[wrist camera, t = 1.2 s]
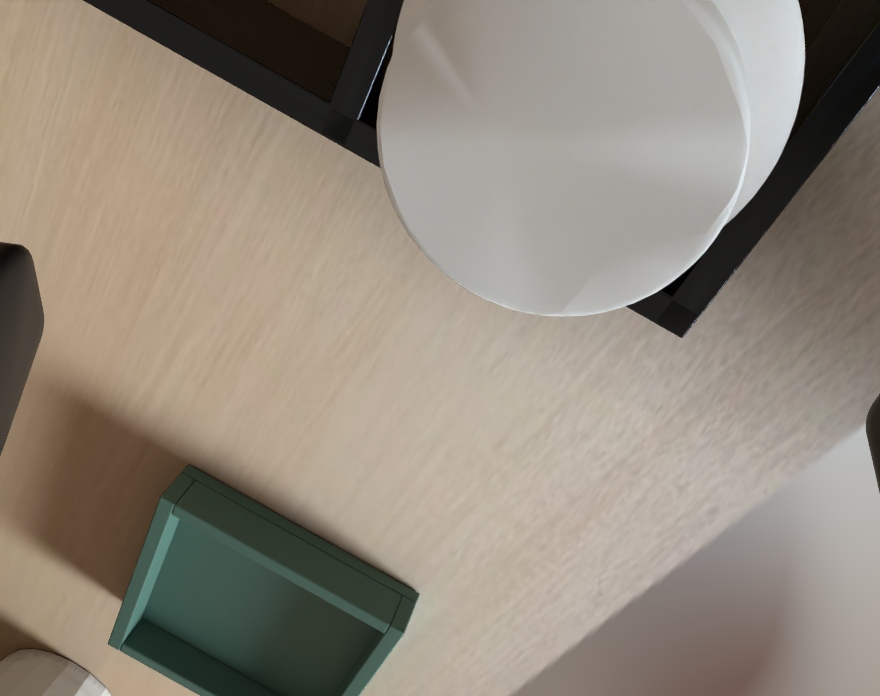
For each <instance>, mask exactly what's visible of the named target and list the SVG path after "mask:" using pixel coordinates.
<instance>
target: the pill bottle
mask: <svg viewBox="0 0 880 696" xmlns="http://www.w3.org/2000/svg"><path fill="white" fill-rule="evenodd" d="M804 65H805V39H804V30H803V21H802V16H801V11H800V6H799V1H798V0H404V2H403V5H402V9H401V12H400V16H399V19H398V24H397V28H396V33H395V39H394V45H393V55H392V58H391V60H390V63H389V65H388V68H387V70H386V74H385V78H384V81H383V85H382V89H381V92H380V96H379V105H378V114H377V144H378V154H379V161H380V167H381V171H382V174H383V178H384V183H385V187H386V189H387V192H388V195H389V197H390V200H391V203H392V205H393V207H394V209H395V211H396V213H397V215H398V217H399V219H400V220H401V222H402V224H403V226H404V227H405V229H406V231H407V232H408V234H409V235H410V237H411V238H412V239H413V241H414V242H415V244H416V245H417V246H418V247H419V248H420V250H421V251H422V252H423V253H424V254H425V255H426V256H427V258H428V259H429V260H430V261H431V262H433V263H434V264H435V265H436V266H437V267H438V268H439V269H440V270H441V271H442V272H443V273H445V274H446V275H447V276H448V277H450V278H451V279H452V280H453V281H455V282H456V283H458V284H459V285H461V286H462V287H464V288H465V289H467V290H469V291H470V292H472V293H474V294H476V295H478V296H480V297H481V298H484V299H486V300H489V301H491V302H493V303H495V304H498V305H500V306H503V307H506V308H510V309H513V310H517V311H520V312H524V313H530V314H536V315H544V316H560V317H566V316H584V315H591V314H598V313H603V312H607V311H611V310H614V309H618V308H621V307H624V306H627V305H630V304H633V303H635V302H637V301H639V300H642V299H644V298H646V297H648V296H650V295H652V294H654V293H656V292H658V291H659V290H661V289H662V288H664V287H665V286H667V285H668V284H670V283H671V282H672V281H674V280H675V279H677V278H678V277H679V276H680V275H681V274H683V273H684V272H685V271H686V270H687V269H688V268H690V267H691V266H692V265H693V264H694V263H695V262H696V261H697V260H698V259H699V258H700V257H701V256H702V255H703V254H704V252H705V251H706V250H707V249H708V248H709V246H710V245H711V244H712V242H713V241H714V240H715V239H716V237H717V235H718V234H719V232H720V231H721V229H722V228H723V227H724V226H725V225H726V224H727V223H728V222H729V221H730V220H732V219H733V218H734V217H735V216H736V215H737V214H738V213H739V212H740V211H741V210H742V209H743V208H744V206H745V205H746V204H747V203H748V202H749V201H750V200H751V199H752V198H753V197H754V195H755V194H756V193H757V191H758V190H759V189H760V187H761V186H762V185H763V183H764V182H765V181H766V179H767V178H768V176H769V174H770V173H771V171H772V170H773V168H774V166H775V165H776V163H777V161H778V159H779V157H780V155H781V153H782V151H783V149H784V147H785V145H786V142H787V140H788V137H789V135H790V132H791V129H792V127H793V124H794V121H795V118H796V115H797V110H798V106H799V102H800V97H801V91H802V85H803V77H804Z"/></svg>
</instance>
